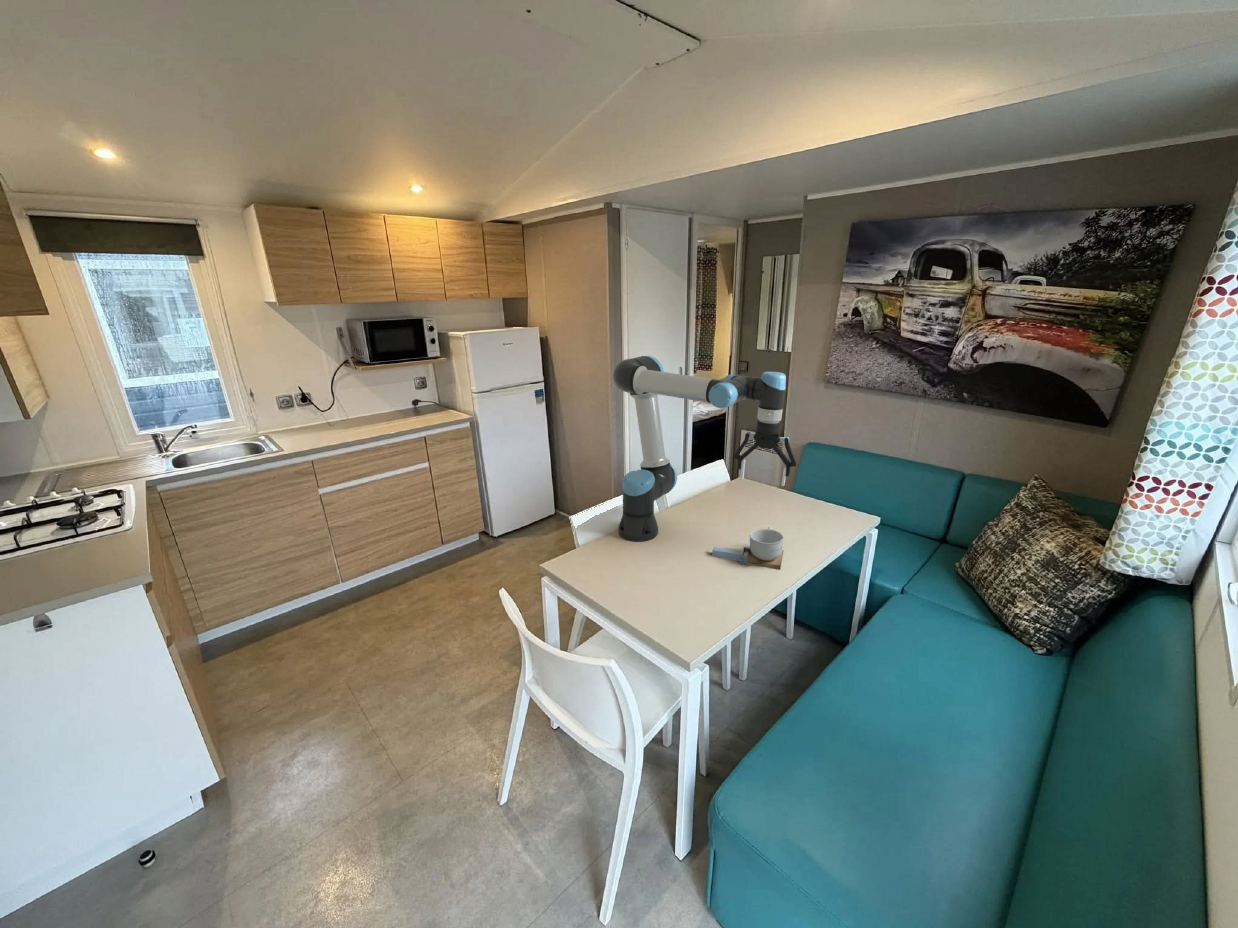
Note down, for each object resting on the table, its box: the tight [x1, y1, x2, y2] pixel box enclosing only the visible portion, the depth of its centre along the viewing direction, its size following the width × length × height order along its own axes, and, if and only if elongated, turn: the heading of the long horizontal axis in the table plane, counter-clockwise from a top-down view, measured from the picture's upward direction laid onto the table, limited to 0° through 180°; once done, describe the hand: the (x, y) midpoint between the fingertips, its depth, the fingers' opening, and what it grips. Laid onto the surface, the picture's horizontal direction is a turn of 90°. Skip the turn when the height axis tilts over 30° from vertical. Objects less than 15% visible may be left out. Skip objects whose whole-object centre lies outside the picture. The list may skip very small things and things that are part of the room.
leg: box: [711, 546, 749, 562], centre depth 165 cm, size 12×5×3 cm, turn 68°
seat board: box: [748, 549, 784, 570], centre depth 164 cm, size 11×11×1 cm
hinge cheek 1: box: [742, 546, 751, 555], centre depth 166 cm, size 2×1×3 cm, turn 67°
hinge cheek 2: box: [739, 555, 749, 567], centre depth 160 cm, size 2×1×3 cm, turn 67°
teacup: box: [749, 526, 784, 561], centre depth 163 cm, size 14×11×8 cm
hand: (762, 481), depth 163 cm, fingers open, 13 cm apart
